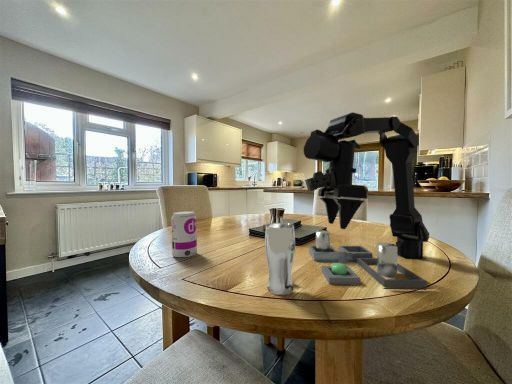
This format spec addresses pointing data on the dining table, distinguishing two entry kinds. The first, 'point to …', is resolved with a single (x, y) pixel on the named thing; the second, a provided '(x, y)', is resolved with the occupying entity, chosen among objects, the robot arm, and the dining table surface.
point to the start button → (339, 269)
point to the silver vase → (280, 257)
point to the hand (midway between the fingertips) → (336, 226)
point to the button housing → (340, 276)
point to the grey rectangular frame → (412, 282)
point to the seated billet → (322, 241)
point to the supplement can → (184, 234)
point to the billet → (387, 259)
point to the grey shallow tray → (340, 254)
